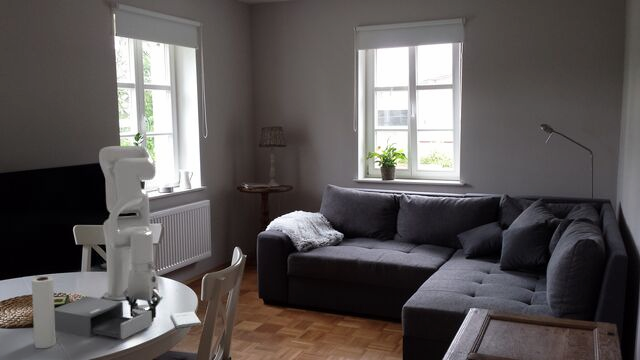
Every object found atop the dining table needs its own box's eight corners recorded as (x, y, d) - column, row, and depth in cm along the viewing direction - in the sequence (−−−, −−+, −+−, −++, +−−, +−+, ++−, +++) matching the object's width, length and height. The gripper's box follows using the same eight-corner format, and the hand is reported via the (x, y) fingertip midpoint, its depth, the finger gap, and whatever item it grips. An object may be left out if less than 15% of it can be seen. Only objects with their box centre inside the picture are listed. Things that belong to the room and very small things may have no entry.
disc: (141, 308, 209) (141, 303, 209) (157, 311, 207) (157, 306, 207) (128, 314, 203) (127, 309, 203) (144, 317, 200) (144, 312, 200)
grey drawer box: (87, 315, 212) (86, 295, 211) (123, 321, 206) (122, 301, 205) (51, 330, 197) (51, 309, 197) (89, 337, 191) (88, 315, 191)
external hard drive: (177, 329, 201) (171, 317, 212) (201, 326, 204) (194, 315, 215) (176, 325, 201) (171, 313, 212) (201, 322, 204) (193, 310, 215)
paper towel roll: (53, 348, 182) (50, 280, 180) (32, 349, 181) (29, 281, 179) (58, 339, 189) (56, 274, 187) (38, 340, 188) (35, 275, 186)
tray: (112, 317, 206) (112, 304, 206) (151, 324, 200) (151, 310, 200) (82, 331, 194) (81, 316, 193) (123, 338, 187) (123, 324, 187)
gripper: (169, 266, 203) (170, 317, 205) (129, 261, 210) (130, 310, 212) (155, 272, 196) (156, 324, 198) (114, 266, 203) (115, 316, 205)
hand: (143, 316), depth 205 cm, fingers closed on disc, 7 cm apart
